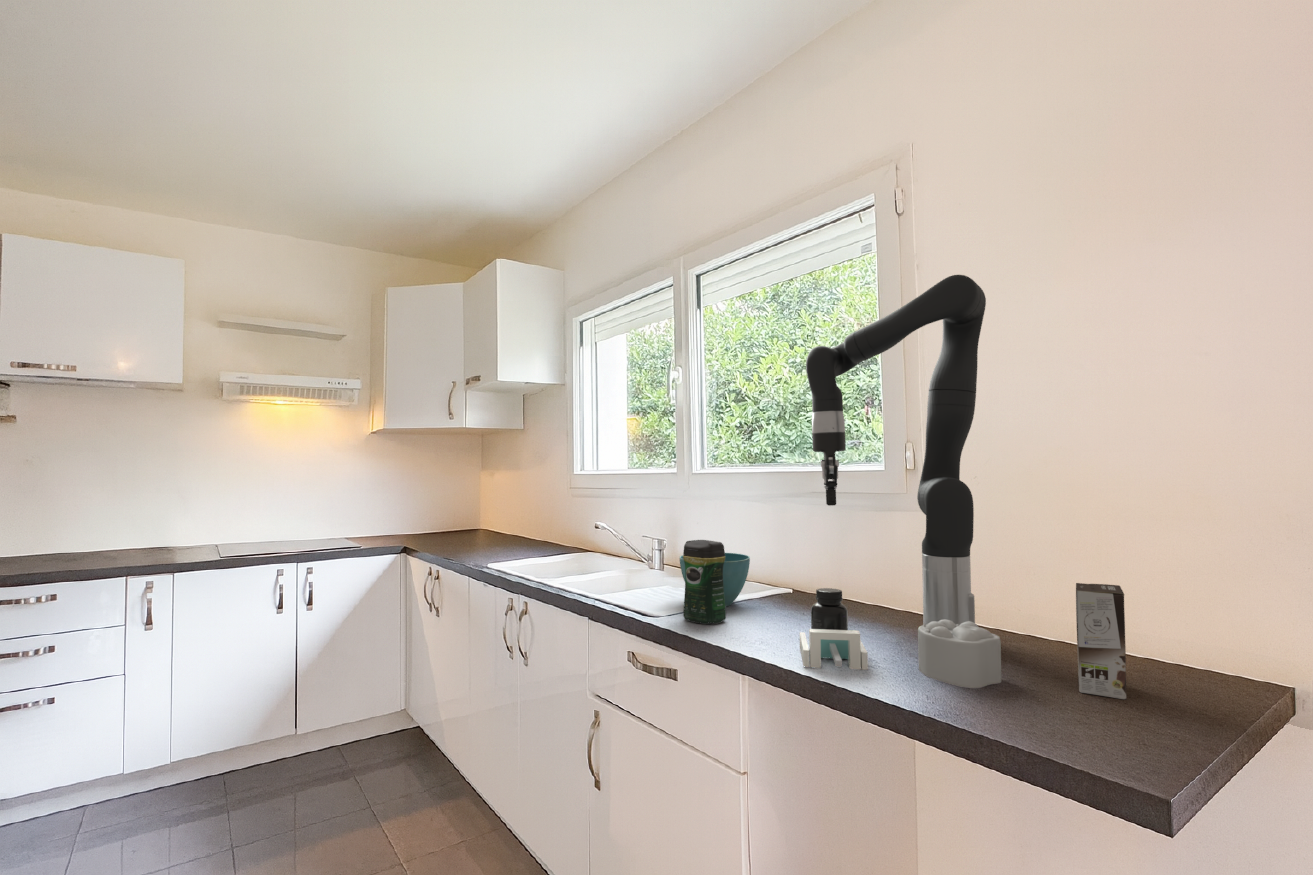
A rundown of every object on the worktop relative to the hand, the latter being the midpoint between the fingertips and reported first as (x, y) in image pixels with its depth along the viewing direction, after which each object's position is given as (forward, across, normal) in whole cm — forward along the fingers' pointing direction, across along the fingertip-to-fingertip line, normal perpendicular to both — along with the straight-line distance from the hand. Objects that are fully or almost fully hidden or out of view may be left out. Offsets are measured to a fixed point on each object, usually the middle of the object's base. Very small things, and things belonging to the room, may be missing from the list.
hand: (831, 505), depth 158 cm
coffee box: (+28, -42, -38) cm, 63 cm away
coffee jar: (+26, -6, +30) cm, 40 cm away
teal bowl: (+26, +13, +30) cm, 41 cm away
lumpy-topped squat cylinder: (+27, -39, -17) cm, 50 cm away
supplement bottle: (+27, -29, +3) cm, 40 cm away
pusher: (+26, -39, +3) cm, 47 cm away
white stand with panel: (+26, -33, +3) cm, 42 cm away
